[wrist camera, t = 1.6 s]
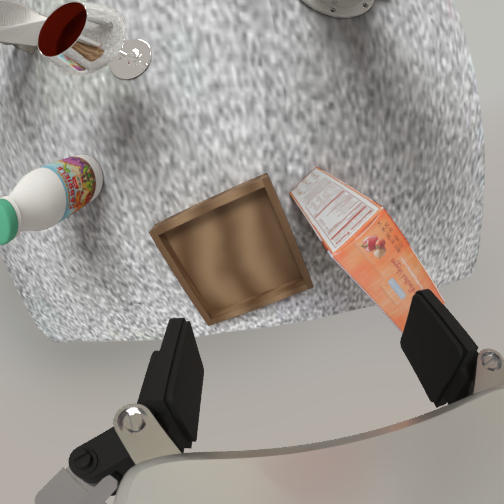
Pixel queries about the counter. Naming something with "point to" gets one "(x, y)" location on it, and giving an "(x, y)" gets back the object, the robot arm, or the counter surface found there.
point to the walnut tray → (233, 251)
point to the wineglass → (91, 41)
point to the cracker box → (364, 243)
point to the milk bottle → (49, 195)
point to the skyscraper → (19, 25)
